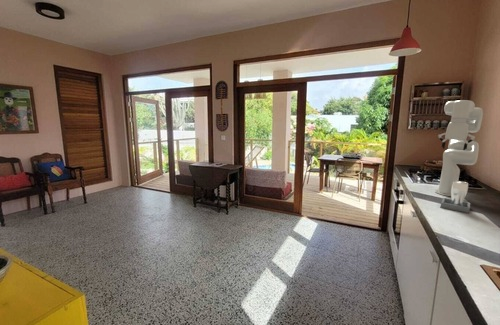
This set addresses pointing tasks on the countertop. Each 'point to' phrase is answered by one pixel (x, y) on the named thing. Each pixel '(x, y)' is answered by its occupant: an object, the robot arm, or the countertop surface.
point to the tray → (455, 206)
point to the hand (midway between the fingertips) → (453, 149)
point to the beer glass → (458, 192)
